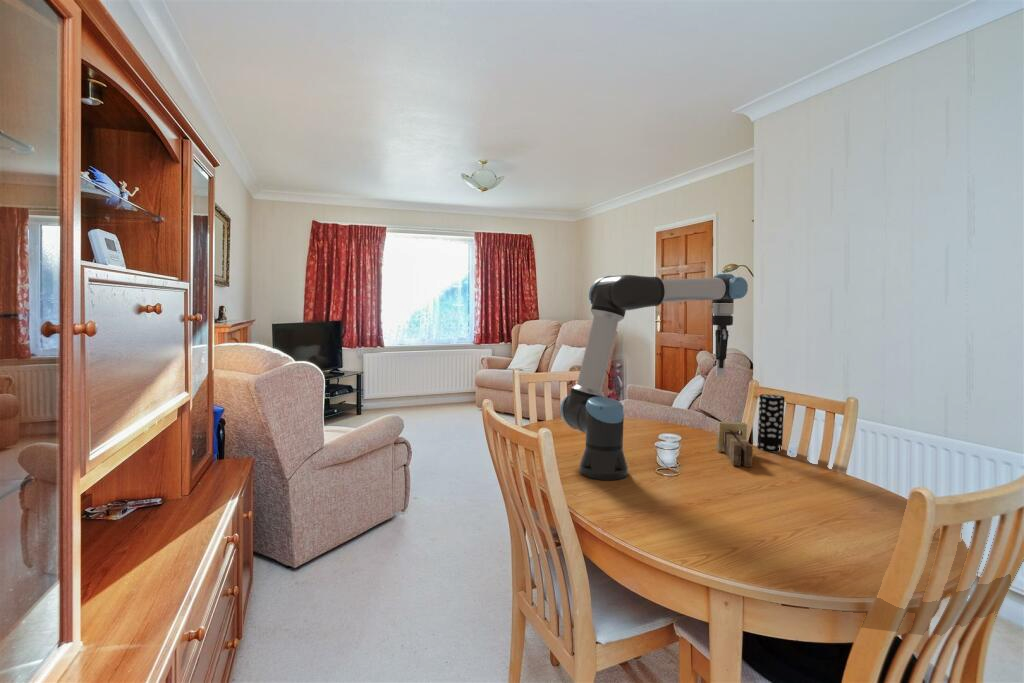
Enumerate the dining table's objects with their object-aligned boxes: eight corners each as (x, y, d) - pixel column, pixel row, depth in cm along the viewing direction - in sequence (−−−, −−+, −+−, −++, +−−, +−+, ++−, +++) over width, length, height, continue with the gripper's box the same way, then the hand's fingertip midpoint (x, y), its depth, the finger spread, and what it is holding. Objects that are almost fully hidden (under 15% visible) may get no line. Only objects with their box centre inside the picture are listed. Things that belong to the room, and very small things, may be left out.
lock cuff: (717, 449, 190) (718, 421, 190) (743, 451, 188) (744, 422, 188) (718, 451, 187) (719, 423, 187) (745, 453, 186) (746, 424, 185)
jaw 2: (730, 449, 190) (731, 430, 190) (736, 449, 190) (737, 431, 189) (744, 466, 170) (745, 445, 170) (751, 466, 170) (752, 446, 170)
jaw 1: (723, 449, 191) (723, 430, 190) (729, 449, 190) (730, 430, 190) (733, 465, 171) (734, 444, 171) (740, 466, 171) (741, 445, 170)
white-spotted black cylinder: (752, 447, 194) (754, 395, 193) (767, 444, 198) (769, 393, 196) (771, 453, 187) (774, 399, 185) (787, 450, 190) (789, 397, 189)
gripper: (709, 314, 202) (706, 373, 204) (715, 315, 190) (712, 378, 191) (729, 314, 201) (727, 374, 202) (736, 315, 188) (734, 379, 190)
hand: (720, 376), depth 197 cm, fingers closed
